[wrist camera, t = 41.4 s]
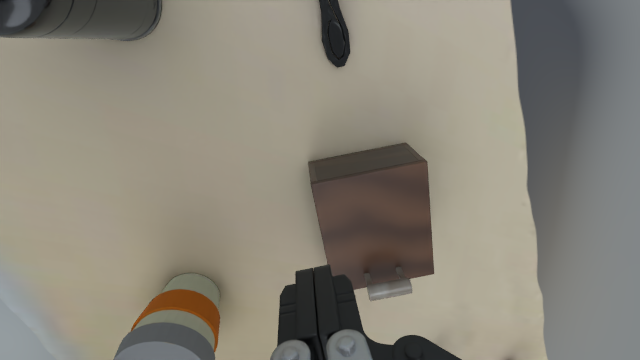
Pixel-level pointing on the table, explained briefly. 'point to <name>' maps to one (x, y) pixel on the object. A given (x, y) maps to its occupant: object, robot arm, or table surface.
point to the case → (362, 162)
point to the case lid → (377, 227)
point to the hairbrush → (334, 33)
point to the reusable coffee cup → (176, 323)
